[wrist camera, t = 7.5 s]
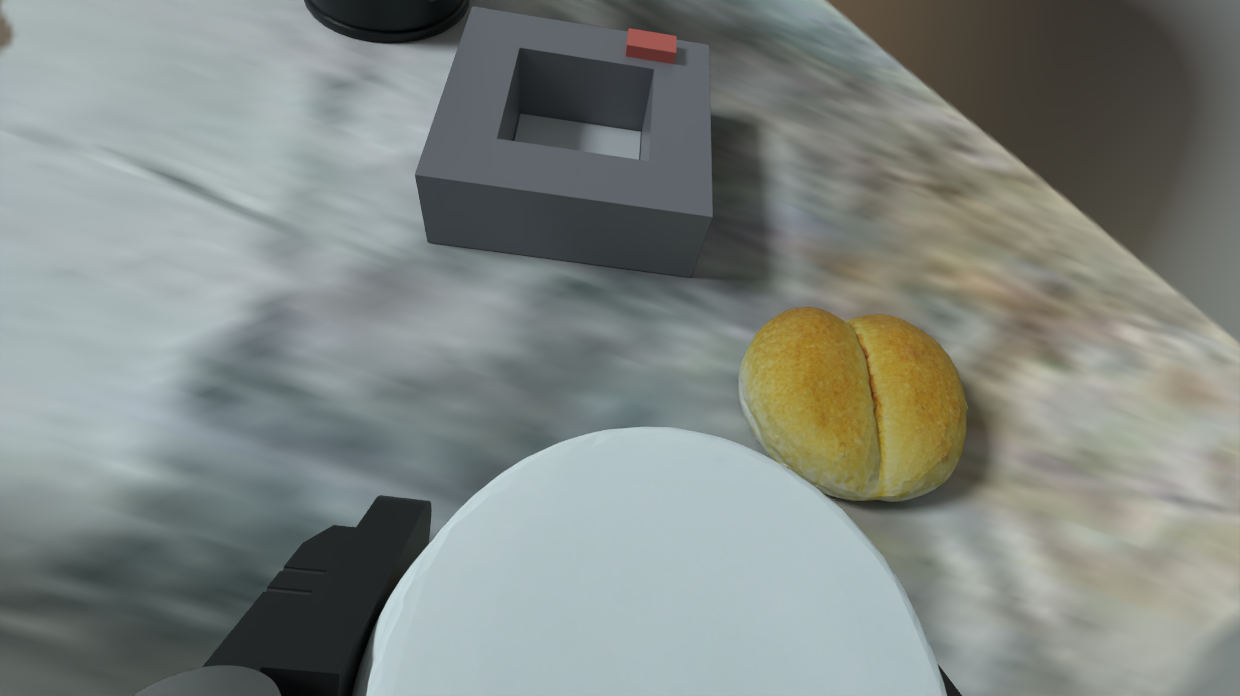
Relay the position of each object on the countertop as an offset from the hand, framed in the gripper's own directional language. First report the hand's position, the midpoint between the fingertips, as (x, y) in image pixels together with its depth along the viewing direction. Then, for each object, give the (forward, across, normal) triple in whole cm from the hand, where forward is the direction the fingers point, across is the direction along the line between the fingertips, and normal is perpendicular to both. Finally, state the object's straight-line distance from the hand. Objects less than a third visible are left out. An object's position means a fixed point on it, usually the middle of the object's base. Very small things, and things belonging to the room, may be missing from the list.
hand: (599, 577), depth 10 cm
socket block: (+25, +2, -7) cm, 26 cm away
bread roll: (+16, -11, +2) cm, 20 cm away
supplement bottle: (+2, 0, +4) cm, 5 cm away
